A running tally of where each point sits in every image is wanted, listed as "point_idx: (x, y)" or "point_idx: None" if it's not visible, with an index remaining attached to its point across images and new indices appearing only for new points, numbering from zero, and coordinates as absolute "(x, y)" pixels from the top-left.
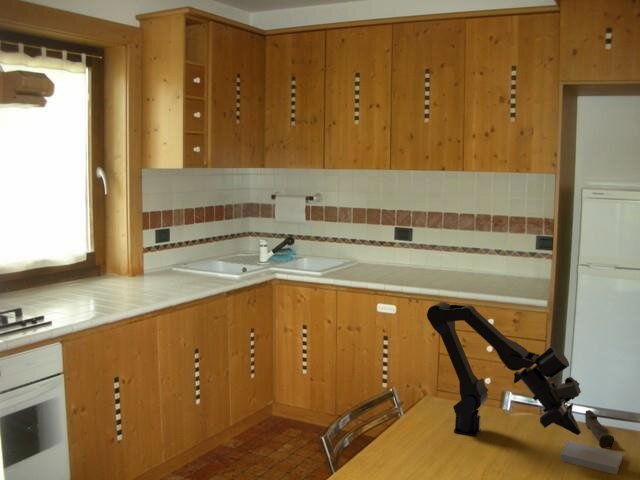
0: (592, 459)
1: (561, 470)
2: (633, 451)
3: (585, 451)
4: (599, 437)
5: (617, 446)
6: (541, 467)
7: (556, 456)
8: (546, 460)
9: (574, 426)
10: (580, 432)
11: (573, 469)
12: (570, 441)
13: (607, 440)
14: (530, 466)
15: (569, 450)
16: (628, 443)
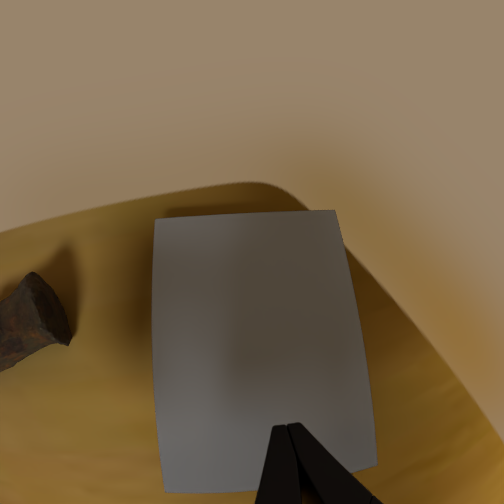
0: (334, 318)
1: (441, 406)
2: (60, 218)
3: (254, 381)
4: (31, 344)
5: None
6: (457, 466)
7: None
8: (394, 493)
9: (348, 478)
10: (293, 424)
11: (406, 377)
12: (166, 481)
13: (50, 302)
14: (467, 490)
15: None
16: (4, 248)
